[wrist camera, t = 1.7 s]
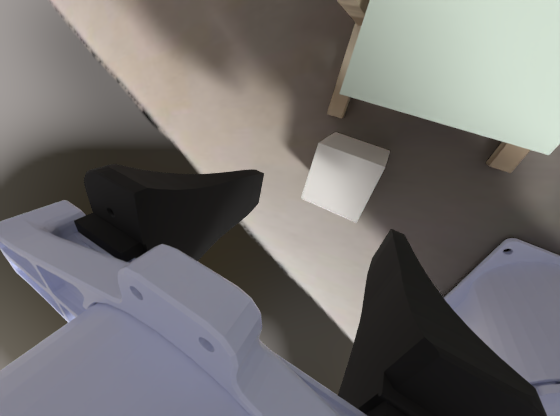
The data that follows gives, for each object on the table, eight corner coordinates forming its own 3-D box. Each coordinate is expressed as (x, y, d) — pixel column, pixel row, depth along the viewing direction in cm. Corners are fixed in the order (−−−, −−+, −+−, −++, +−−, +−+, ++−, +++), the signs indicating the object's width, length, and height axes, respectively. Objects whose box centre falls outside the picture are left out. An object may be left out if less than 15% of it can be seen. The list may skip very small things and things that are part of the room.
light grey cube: (365, 198, 20) (356, 223, 16) (319, 179, 21) (300, 198, 18) (390, 150, 17) (385, 167, 14) (335, 131, 19) (318, 142, 15)
